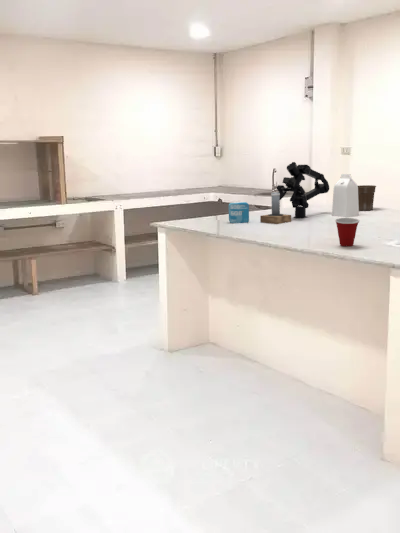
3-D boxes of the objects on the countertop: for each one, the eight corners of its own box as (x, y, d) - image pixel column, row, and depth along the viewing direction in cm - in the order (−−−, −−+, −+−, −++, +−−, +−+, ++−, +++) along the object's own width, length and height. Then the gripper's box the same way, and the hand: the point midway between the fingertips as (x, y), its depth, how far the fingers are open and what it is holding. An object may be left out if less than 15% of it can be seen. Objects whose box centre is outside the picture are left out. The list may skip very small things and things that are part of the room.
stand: (275, 219, 352) (275, 212, 351) (291, 221, 342) (291, 214, 341) (260, 222, 344) (260, 214, 343) (276, 224, 334) (276, 216, 333)
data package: (229, 223, 345) (228, 203, 343) (228, 222, 350) (228, 202, 347) (249, 222, 345) (248, 202, 343) (248, 221, 350) (247, 202, 347)
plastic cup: (338, 248, 254) (339, 221, 251) (331, 244, 264) (331, 218, 262) (362, 247, 254) (363, 220, 252) (354, 242, 265) (354, 217, 262)
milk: (358, 215, 358) (359, 173, 352) (346, 217, 351) (347, 174, 346) (344, 214, 367) (344, 173, 362) (331, 215, 361) (332, 174, 356)
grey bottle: (278, 213, 345) (278, 192, 342) (281, 214, 340) (280, 192, 338) (270, 214, 344) (270, 192, 342) (273, 215, 340) (272, 193, 337)
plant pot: (347, 209, 391) (347, 185, 388) (369, 208, 393) (370, 184, 389) (356, 212, 375) (356, 187, 372) (379, 210, 377) (380, 186, 373)
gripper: (278, 172, 353) (266, 191, 348) (301, 172, 339) (289, 192, 334) (286, 184, 359) (275, 203, 355) (310, 184, 346) (298, 204, 341)
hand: (284, 200), depth 346 cm, fingers open, 9 cm apart
